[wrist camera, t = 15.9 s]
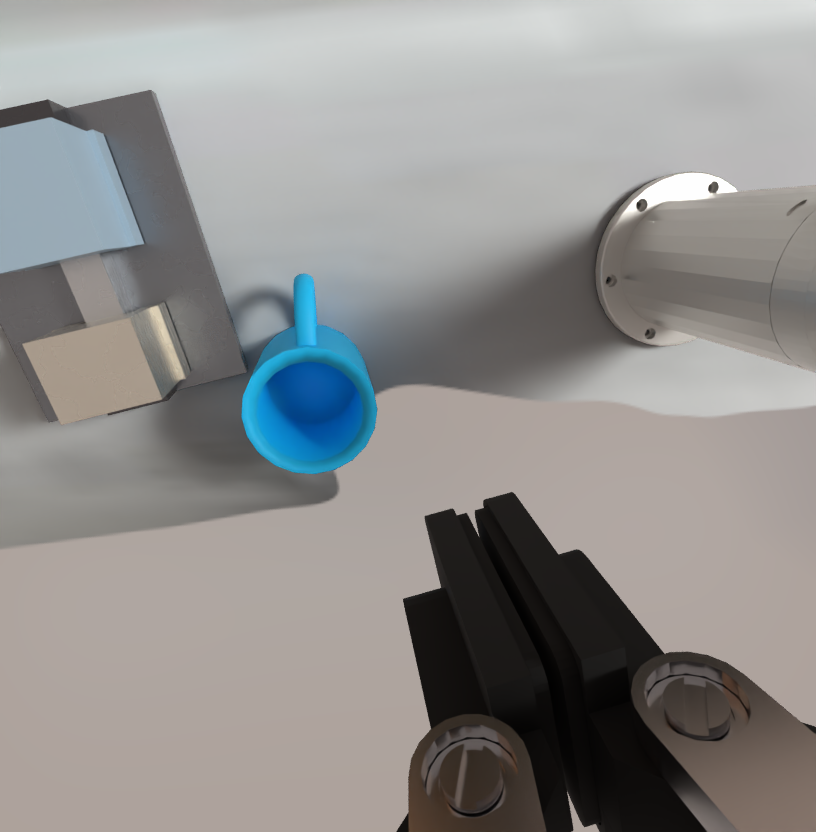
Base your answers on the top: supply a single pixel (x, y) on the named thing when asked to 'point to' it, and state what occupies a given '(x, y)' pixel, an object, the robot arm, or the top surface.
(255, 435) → the mug
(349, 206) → the top surface
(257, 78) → the top surface
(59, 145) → the block
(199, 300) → the rail plate
